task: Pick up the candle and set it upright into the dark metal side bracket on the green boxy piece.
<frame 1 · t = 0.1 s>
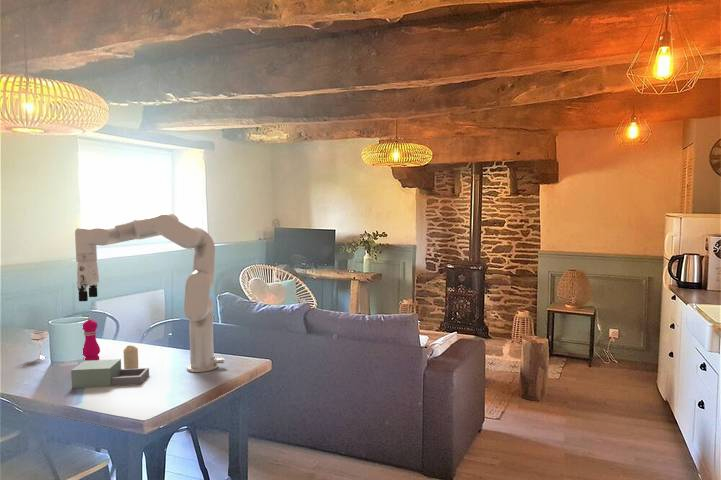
hand: (88, 299, 210), 31 cm above the table, tool pointing down, fingers open, 9 cm apart
green boxy piece: (113, 381, 202), on the table
candle: (131, 369, 217), on the table
pepper mill: (91, 361, 229), on the table
wineglass: (40, 358, 235), on the table
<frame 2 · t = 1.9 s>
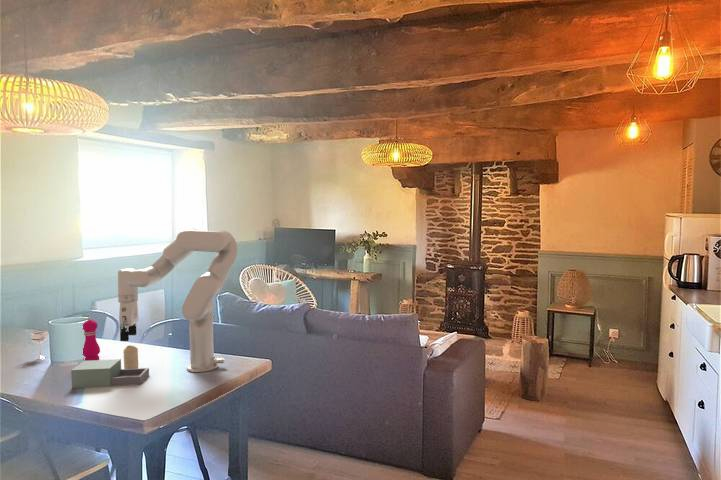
hand: (128, 337, 216), 13 cm above the table, tool pointing down, fingers open, 9 cm apart
nothing on the table moved.
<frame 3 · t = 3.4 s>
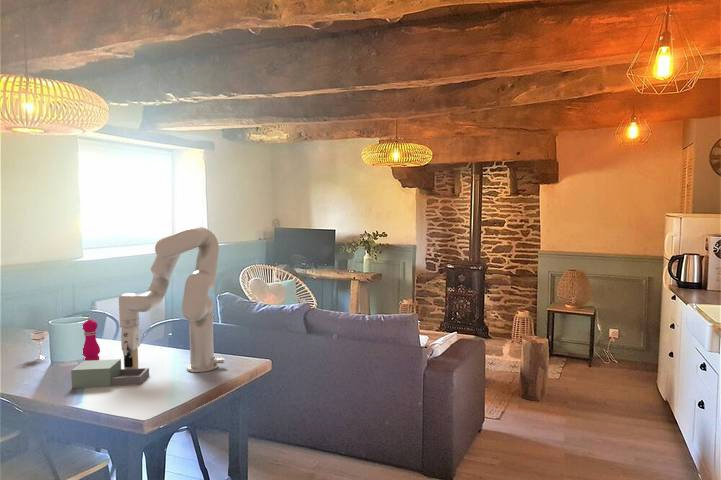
hand: (131, 364, 217), 2 cm above the table, tool pointing down, fingers closed on candle, 5 cm apart
candle: (131, 369, 217), on the table, touching gripper
everything else where it was.
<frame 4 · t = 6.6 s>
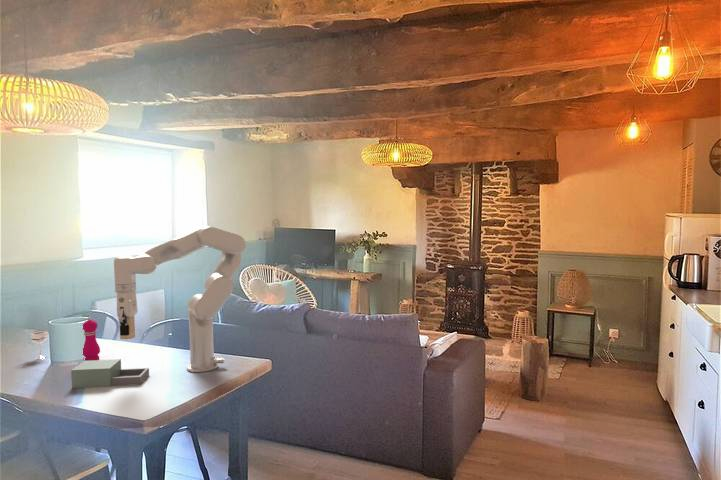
hand: (127, 332, 201), 19 cm above the table, tool pointing down, fingers closed on candle, 5 cm apart
candle: (127, 338, 201), point 17 cm above the table, touching gripper
everything else where it was.
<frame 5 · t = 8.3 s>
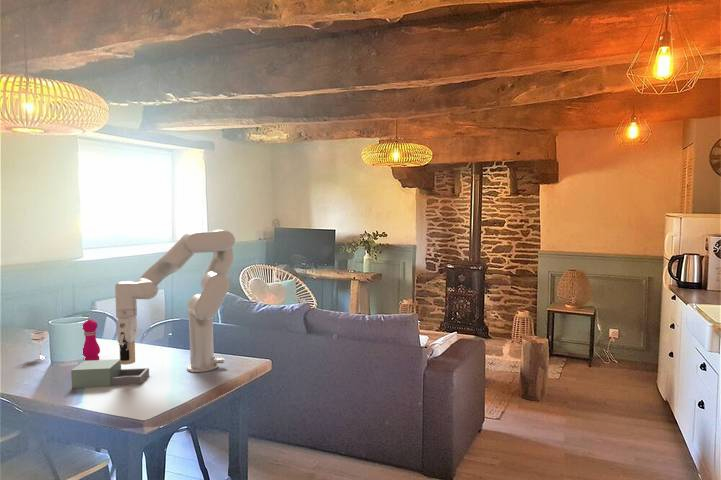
hand: (127, 357, 202), 9 cm above the table, tool pointing down, fingers closed on candle, 5 cm apart
candle: (127, 363, 202), point 7 cm above the table, touching gripper
everything else where it was.
when the fingers open (4 cm above the table, at t = 9.7 s): candle drops 1 cm, resting on green boxy piece.
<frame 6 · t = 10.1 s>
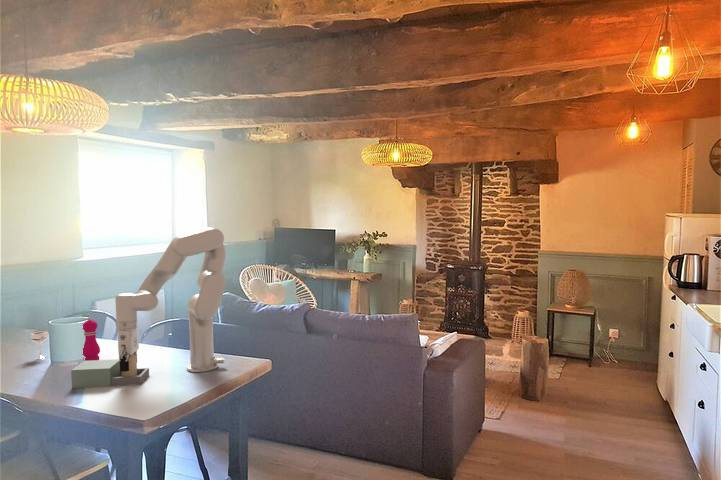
hand: (128, 367, 202), 5 cm above the table, tool pointing down, fingers open, 9 cm apart
candle: (129, 378, 203), point 1 cm above the table, touching green boxy piece
everything else where it was.
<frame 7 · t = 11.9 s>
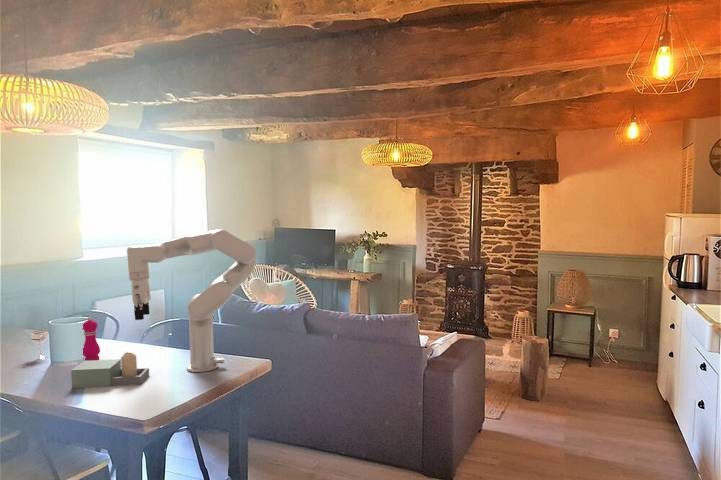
hand: (142, 317, 210), 24 cm above the table, tool pointing down, fingers open, 9 cm apart
nothing on the table moved.
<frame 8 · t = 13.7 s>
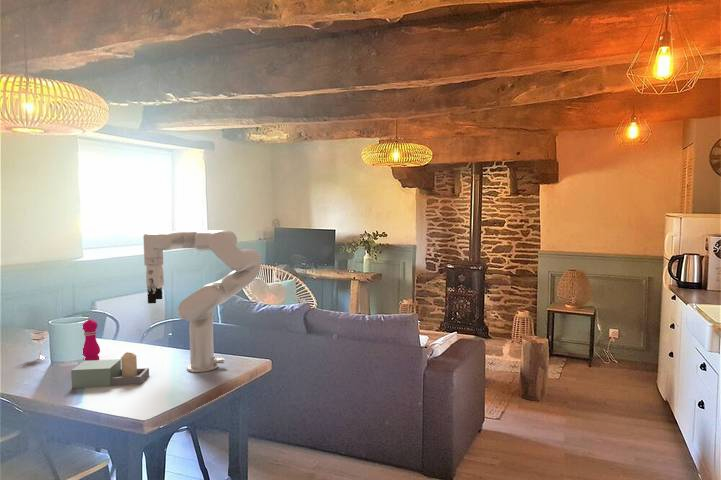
hand: (155, 301, 219), 28 cm above the table, tool pointing down, fingers open, 9 cm apart
nothing on the table moved.
at the end: candle 0.2 cm from the target spot on the green boxy piece, point 0.8 cm above the green boxy piece's base; candle tilted 0°; the gripper is holding nothing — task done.
